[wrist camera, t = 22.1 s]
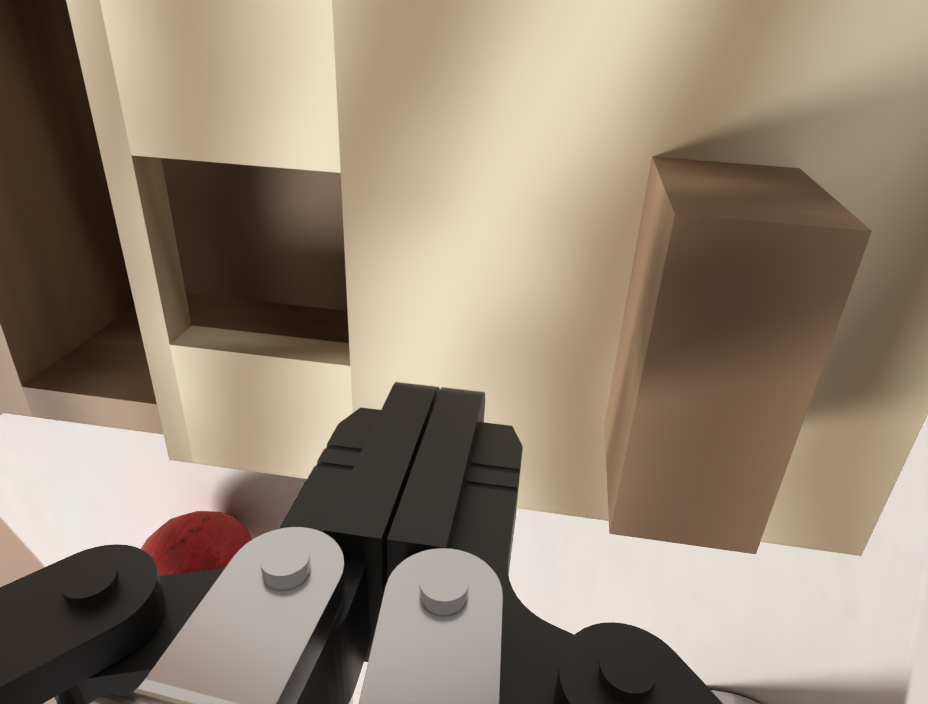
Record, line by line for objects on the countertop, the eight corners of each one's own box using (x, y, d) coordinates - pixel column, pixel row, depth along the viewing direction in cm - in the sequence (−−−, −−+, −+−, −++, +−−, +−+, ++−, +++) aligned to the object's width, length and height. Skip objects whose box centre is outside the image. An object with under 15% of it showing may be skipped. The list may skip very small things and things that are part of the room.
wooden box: (526, -34, 22) (495, -41, 14) (498, 341, 29) (466, 475, 21) (-25, -59, 24) (-315, -77, 16) (71, 294, 31) (-99, 398, 23)
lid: (1078, -3, 13) (1350, 8, 8) (845, 525, 19) (925, 689, 15) (90, -49, 15) (-119, -62, 10) (189, 437, 22) (86, 556, 17)
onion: (220, 460, 35) (130, 580, 28) (301, 529, 36) (235, 658, 29) (161, 510, 37) (66, 630, 30) (240, 571, 39) (166, 699, 32)
